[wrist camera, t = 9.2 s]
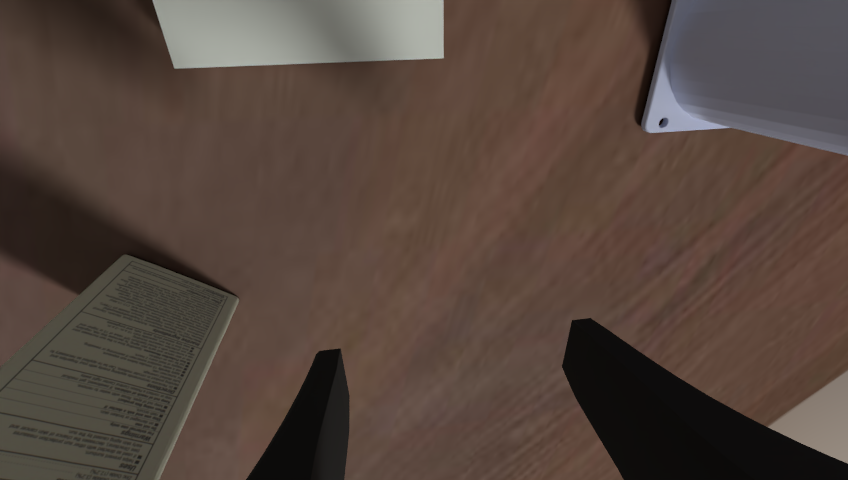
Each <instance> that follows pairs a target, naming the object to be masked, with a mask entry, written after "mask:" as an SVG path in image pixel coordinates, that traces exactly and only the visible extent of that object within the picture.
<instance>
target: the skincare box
mask: <svg viewBox="0 0 848 480" xmlns="http://www.w3.org/2000/svg"><path fill="white" fill-rule="evenodd" d="M238 302H239V299H238V297H236V296H234V295H231V294H229V293H226V292H224V291H221V290H219V289H216V288H214V287H212V286H209V285H206V284H204V283H201V282H199V281H196V280H194V279H191V278H188V277H185V276H183V275H180V274H178V273H175V272H173V271H170V270H168V269H165V268H162V267H160V266H158V265H155V264H152V263H149V262H146V261H143V260H140V259H138V258H135V257H132V256H129V255H122V256H121V257H120V258H119V259H118V260H117V261H116V262H114V263H113V264H112V265H111V266H110V267H109V268H108V269H107V270H106V271H105V272H104V273H102V274H101V275H100V276H99V277H98V278H97V279H96V280H95V281H94V282H93V283H92V284H91V285H90V286H88V287H87V288H86V289H85V290H84V291H83V292H82V293H81V294H80V295H79V296H78V297H77V298H75V299H74V300H73V301H72V302H71V303H70V304H69V305H68V306H67V307H66V308H65V309H64V310H62V311H61V312H60V313H59V314H58V315H57V316H56V317H55V318H54V319H52V320H51V321H50V322H49V323H48V324H47V325H46V326H45V327H44V328H43V329H42V330H40V331H39V332H38V333H37V334H36V335H35V336H34V337H33V338H32V339H31V340H30V341H29V342H27V343H26V344H25V345H24V346H23V347H22V348H21V349H20V350H19V351H18V352H16V353H15V354H14V355H13V356H12V357H11V358H10V359H9V360H8V361H7V362H6V363H4V364H3V365H2V366H1V367H0V480H159V479H160V476H161V474H162V472H163V470H164V468H165V465H166V463H167V461H168V459H169V456H170V454H171V452H172V450H173V448H174V445H175V443H176V441H177V439H178V436H179V434H180V432H181V430H182V427H183V425H184V423H185V421H186V418H187V416H188V414H189V412H190V409H191V407H192V405H193V403H194V400H195V398H196V396H197V394H198V391H199V389H200V387H201V385H202V383H203V380H204V378H205V376H206V374H207V371H208V369H209V367H210V365H211V362H212V360H213V358H214V356H215V353H216V351H217V349H218V346H219V344H220V342H221V340H222V338H223V336H224V334H225V331H226V329H227V327H228V325H229V323H230V320H231V318H232V315H233V313H234V311H235V309H236V306H237V304H238Z"/></svg>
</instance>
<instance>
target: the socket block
mask: <svg viewBox="0 0 848 480" xmlns="http://www.w3.org/2000/svg"><path fill="white" fill-rule="evenodd" d="M153 4H154V7H155V10H156V13H157V16H158V19H159V22H160V25H161V28H162V32H163V35H164V38H165V41H166V44H167V47H168V50H169V53H170V56H171V59H172V63H173V66H174V69H177V68H203V67H229V66H255V65H281V64H307V63H333V62H359V61H385V60H411V59H437V58H444V47H443V0H153Z"/></svg>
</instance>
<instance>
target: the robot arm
mask: <svg viewBox="0 0 848 480" xmlns="http://www.w3.org/2000/svg"><path fill="white" fill-rule="evenodd" d="M662 118H663V122H662V124H661V125H660V126H659V122H660V120H661V119H662ZM641 127H642V129H643V130H644V131H646V132H649V133H657V132H673V131H688V130H703V129H719V128H735V129H739V130H743V131H748V132H752V133H756V134H760V135H764V136H768V137H773V138H777V139H781V140H785V141H789V142H794V143H798V144H802V145H806V146H810V147H814V148H819V149H823V150H827V151H831V152H835V153H839V154H844V155H848V0H672V2H671V6H670V10H669V14H668V18H667V22H666V26H665V30H664V34H663V38H662V42H661V46H660V50H659V54H658V58H657V62H656V66H655V70H654V74H653V78H652V82H651V86H650V90H649V94H648V98H647V103H646V107H645V111H644V115H643V119H642V123H641ZM562 368H563V370H564V372H565V375H566V377H567V379H568V382H569V384H570V386H571V389H572V391H573V393H574V395H575V397H576V399H577V401H578V403H579V404H580V406H581V408H582V409H583V411H584V413H585V415H586V416H587V418H588V420H589V421H590V423H591V425H592V426H593V428H594V430H595V431H596V433H597V435H598V436H599V438H600V440H601V441H602V443H603V445H604V446H605V448H606V450H607V451H608V453H609V455H610V456H611V458H612V460H613V461H614V463H615V465H616V467H617V468H618V470H619V472H620V474H621V475H622V477H623V479H624V480H848V464H847V463H844V462H842V461H840V460H837V459H835V458H833V457H830V456H828V455H826V454H823V453H821V452H819V451H817V450H815V449H812V448H810V447H808V446H806V445H803V444H801V443H799V442H797V441H795V440H793V439H791V438H789V437H787V436H784V435H782V434H780V433H778V432H776V431H774V430H772V429H770V428H768V427H766V426H764V425H762V424H760V423H758V422H756V421H754V420H752V419H750V418H748V417H746V416H744V415H742V414H741V413H739V412H737V411H735V410H733V409H731V408H730V407H728V406H726V405H724V404H722V403H720V402H719V401H717V400H715V399H713V398H712V397H710V396H708V395H706V394H705V393H703V392H701V391H700V390H698V389H696V388H695V387H693V386H691V385H690V384H688V383H686V382H685V381H683V380H682V379H680V378H678V377H677V376H675V375H674V374H672V373H671V372H669V371H667V370H666V369H664V368H663V367H661V366H660V365H658V364H657V363H655V362H654V361H652V360H651V359H649V358H648V357H646V356H645V355H643V354H642V353H640V352H639V351H638V350H636V349H635V348H633V347H632V346H630V345H629V344H627V343H626V342H625V341H623V340H622V339H620V338H619V337H617V336H616V335H614V334H613V333H612V332H610V331H609V330H607V329H606V328H604V327H603V326H601V325H600V324H598V323H597V322H595V321H594V320H592V319H591V318H588V319H580V320H572V323H571V328H570V332H569V337H568V342H567V346H566V351H565V356H564V360H563V365H562ZM348 437H349V391H348V386H347V381H346V375H345V370H344V365H343V359H342V354H341V349H333V350H324V351H319V352H318V353H317V354H316V356H315V359H314V361H313V363H312V366H311V368H310V370H309V372H308V375H307V377H306V379H305V381H304V383H303V385H302V387H301V389H300V391H299V393H298V395H297V397H296V399H295V400H294V402H293V404H292V406H291V408H290V410H289V412H288V413H287V415H286V417H285V419H284V421H283V422H282V424H281V426H280V427H279V429H278V431H277V432H276V434H275V436H274V437H273V439H272V441H271V442H270V444H269V446H268V447H267V449H266V450H265V452H264V454H263V455H262V457H261V458H260V460H259V461H258V463H257V464H256V466H255V467H254V469H253V470H252V472H251V473H250V475H249V476H248V478H247V479H246V480H344V476H345V466H346V457H347V447H348Z"/></svg>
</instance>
